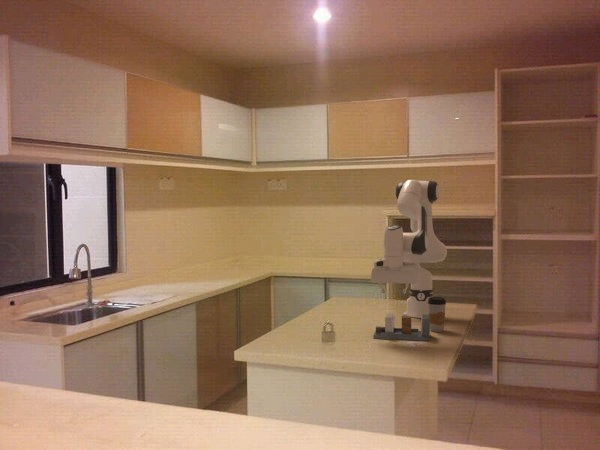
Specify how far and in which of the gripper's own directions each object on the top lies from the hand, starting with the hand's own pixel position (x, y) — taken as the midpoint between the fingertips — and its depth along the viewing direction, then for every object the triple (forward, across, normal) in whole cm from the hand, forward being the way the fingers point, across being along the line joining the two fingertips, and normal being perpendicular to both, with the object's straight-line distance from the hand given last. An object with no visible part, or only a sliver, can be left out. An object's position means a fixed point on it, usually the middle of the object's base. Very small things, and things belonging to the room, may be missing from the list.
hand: (393, 293), depth 258 cm
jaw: (+18, +4, 0) cm, 18 cm away
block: (+18, -6, 0) cm, 19 cm away
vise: (+19, -4, 0) cm, 20 cm away
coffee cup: (+20, -19, -16) cm, 31 cm away
